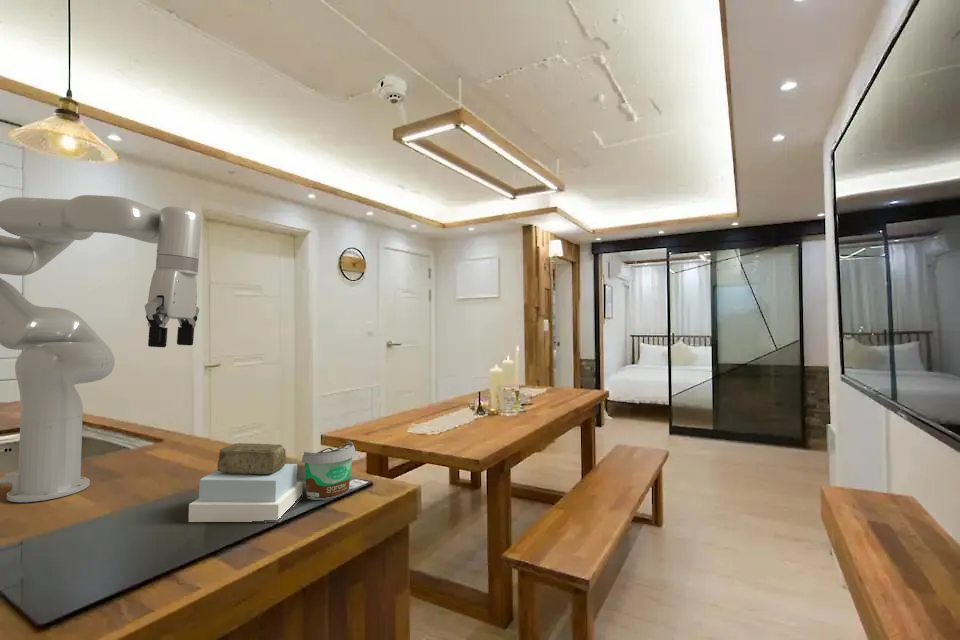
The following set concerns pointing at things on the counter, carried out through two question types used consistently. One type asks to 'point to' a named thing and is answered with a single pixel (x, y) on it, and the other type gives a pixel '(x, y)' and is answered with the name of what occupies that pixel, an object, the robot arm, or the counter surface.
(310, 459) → the food container
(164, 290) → the robot arm
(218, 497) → the tower top slab
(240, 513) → the tower base slab
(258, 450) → the stone block
